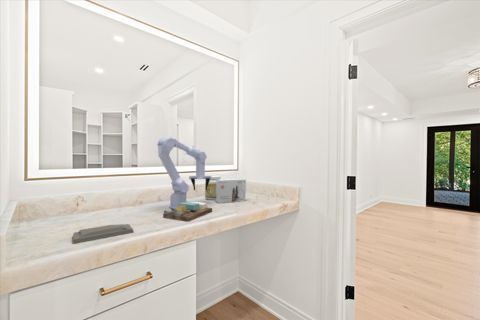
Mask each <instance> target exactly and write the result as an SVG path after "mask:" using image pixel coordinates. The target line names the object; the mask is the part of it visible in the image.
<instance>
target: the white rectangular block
mask: <svg viewBox="0 0 480 320" xmlns="http://www.w3.org/2000/svg"><path fill="white" fill-rule="evenodd" d="M191 203H199V208H198V209H205V208H208V202H200V201H191Z"/></svg>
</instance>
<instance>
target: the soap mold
mask: <svg viewBox="0 0 480 320" xmlns="http://www.w3.org/2000/svg"><path fill="white" fill-rule="evenodd" d="M128 234H134V230H133V227H132V226H131V225H130V224H129V223H127V224H126V223H125V224H124V223H123V224H109V225H102V226H101V225H100V226H96V227H90V228H83V229H79V231H75V232H73V234H72V244H73V245H76V244H81V243H87V242H91V241H92V242H93V241H97V240H102V239H109V238H112V237H113V238H114V237H118V236H122V235H123V236H124V235H128Z"/></svg>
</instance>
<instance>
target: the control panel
mask: <svg viewBox="0 0 480 320" xmlns="http://www.w3.org/2000/svg"><path fill="white" fill-rule="evenodd" d="M170 209H171V210H163V214H162V218H164V219H169V220H175V221H176V220H177V221H184V222H191V221H192V220H196V219H199V218H200V217H203V216H205V215H208V214H210V213H212V212H213V207H207V208H205V209H195V210H190V209H187V213H185V214H183V213H180V212H177V209H176V208H170Z"/></svg>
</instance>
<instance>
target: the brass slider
mask: <svg viewBox="0 0 480 320" xmlns="http://www.w3.org/2000/svg"><path fill="white" fill-rule="evenodd" d="M177 212H180V213H183V214H185V213H187V205H180V206H177Z"/></svg>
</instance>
